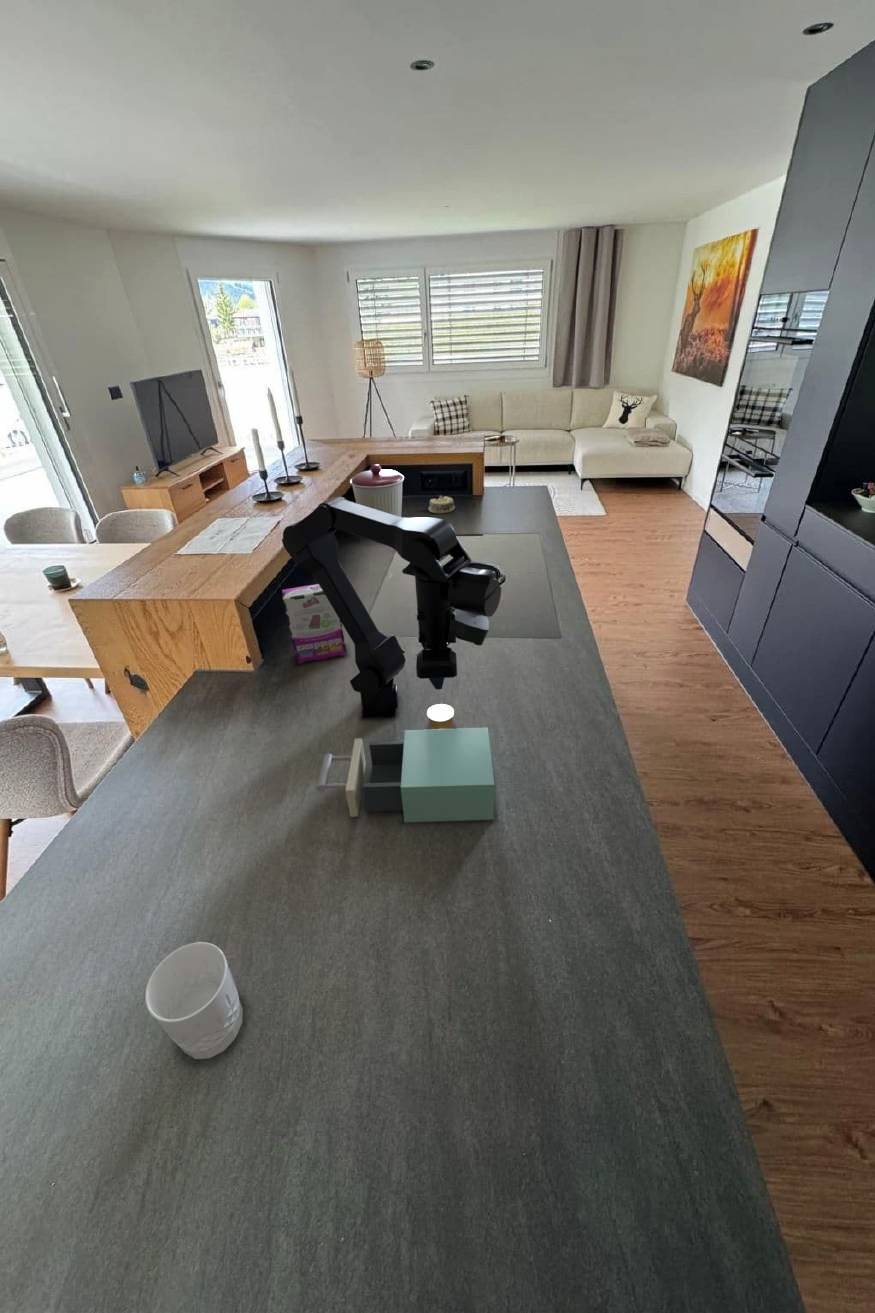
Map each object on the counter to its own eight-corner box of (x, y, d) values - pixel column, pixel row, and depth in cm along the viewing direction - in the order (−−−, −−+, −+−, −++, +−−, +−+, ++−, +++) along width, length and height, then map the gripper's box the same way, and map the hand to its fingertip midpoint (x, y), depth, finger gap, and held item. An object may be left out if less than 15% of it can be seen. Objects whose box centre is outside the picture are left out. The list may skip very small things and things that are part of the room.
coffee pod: (427, 738, 100) (426, 721, 98) (428, 721, 105) (427, 704, 102) (454, 737, 100) (454, 720, 98) (454, 720, 104) (453, 703, 102)
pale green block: (404, 822, 85) (400, 787, 81) (408, 763, 95) (404, 730, 91) (493, 819, 84) (494, 784, 80) (487, 761, 95) (487, 727, 91)
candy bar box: (344, 644, 129) (334, 580, 120) (347, 655, 125) (337, 590, 116) (295, 653, 126) (281, 588, 117) (297, 665, 122) (282, 598, 113)
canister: (417, 522, 195) (413, 460, 184) (387, 539, 183) (381, 474, 171) (376, 514, 203) (370, 455, 192) (345, 530, 191) (336, 468, 179)
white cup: (256, 986, 65) (235, 939, 60) (238, 1064, 59) (213, 1019, 53) (189, 990, 65) (162, 944, 60) (163, 1068, 59) (131, 1024, 53)
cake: (460, 511, 205) (460, 496, 202) (437, 517, 201) (437, 502, 197) (445, 502, 211) (445, 488, 208) (423, 508, 207) (422, 494, 204)
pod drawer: (318, 817, 85) (312, 791, 82) (330, 764, 95) (325, 739, 91) (431, 814, 85) (429, 787, 81) (432, 761, 94) (430, 735, 91)
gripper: (490, 629, 80) (489, 713, 88) (481, 574, 95) (481, 650, 104) (413, 632, 80) (419, 716, 89) (417, 576, 96) (422, 652, 104)
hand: (438, 681), depth 96 cm, fingers open, 4 cm apart
